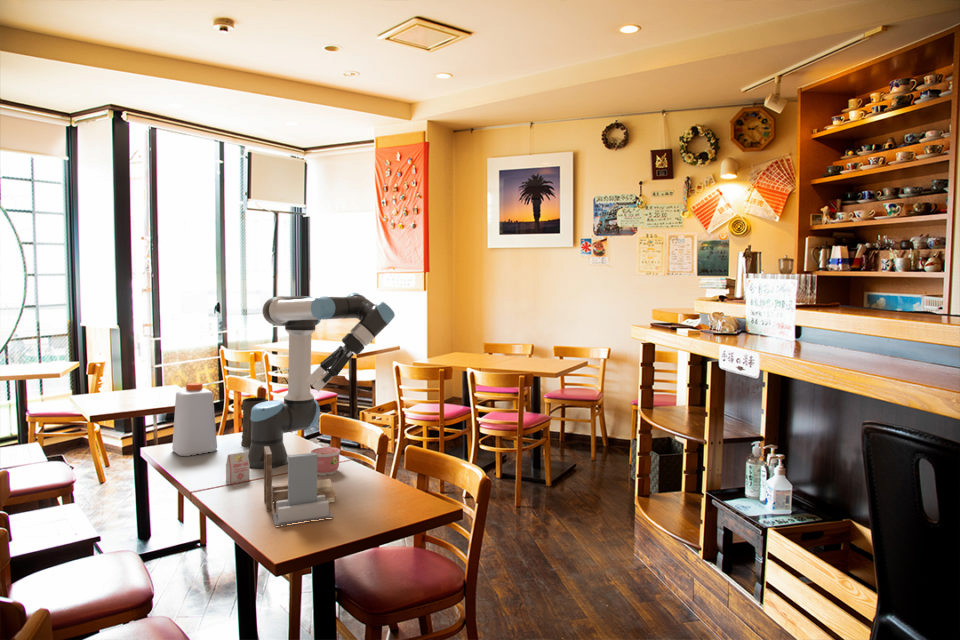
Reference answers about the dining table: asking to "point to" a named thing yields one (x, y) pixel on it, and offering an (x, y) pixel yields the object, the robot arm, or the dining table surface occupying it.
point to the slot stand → (301, 511)
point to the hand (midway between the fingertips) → (311, 385)
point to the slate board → (302, 478)
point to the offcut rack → (281, 491)
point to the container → (327, 460)
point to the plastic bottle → (194, 421)
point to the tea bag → (237, 468)
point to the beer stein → (248, 418)
